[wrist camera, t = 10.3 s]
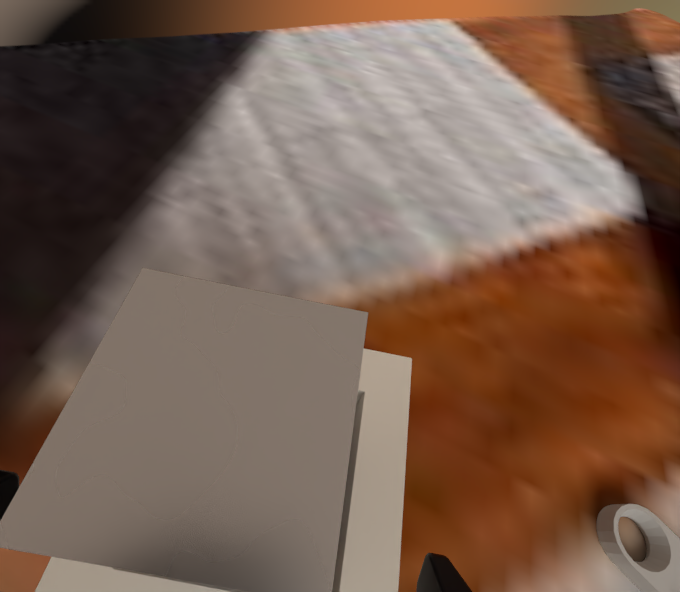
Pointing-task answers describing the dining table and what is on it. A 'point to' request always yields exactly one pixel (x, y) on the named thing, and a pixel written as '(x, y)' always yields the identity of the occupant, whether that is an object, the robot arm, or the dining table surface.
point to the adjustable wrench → (662, 548)
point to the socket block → (358, 509)
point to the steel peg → (202, 441)
